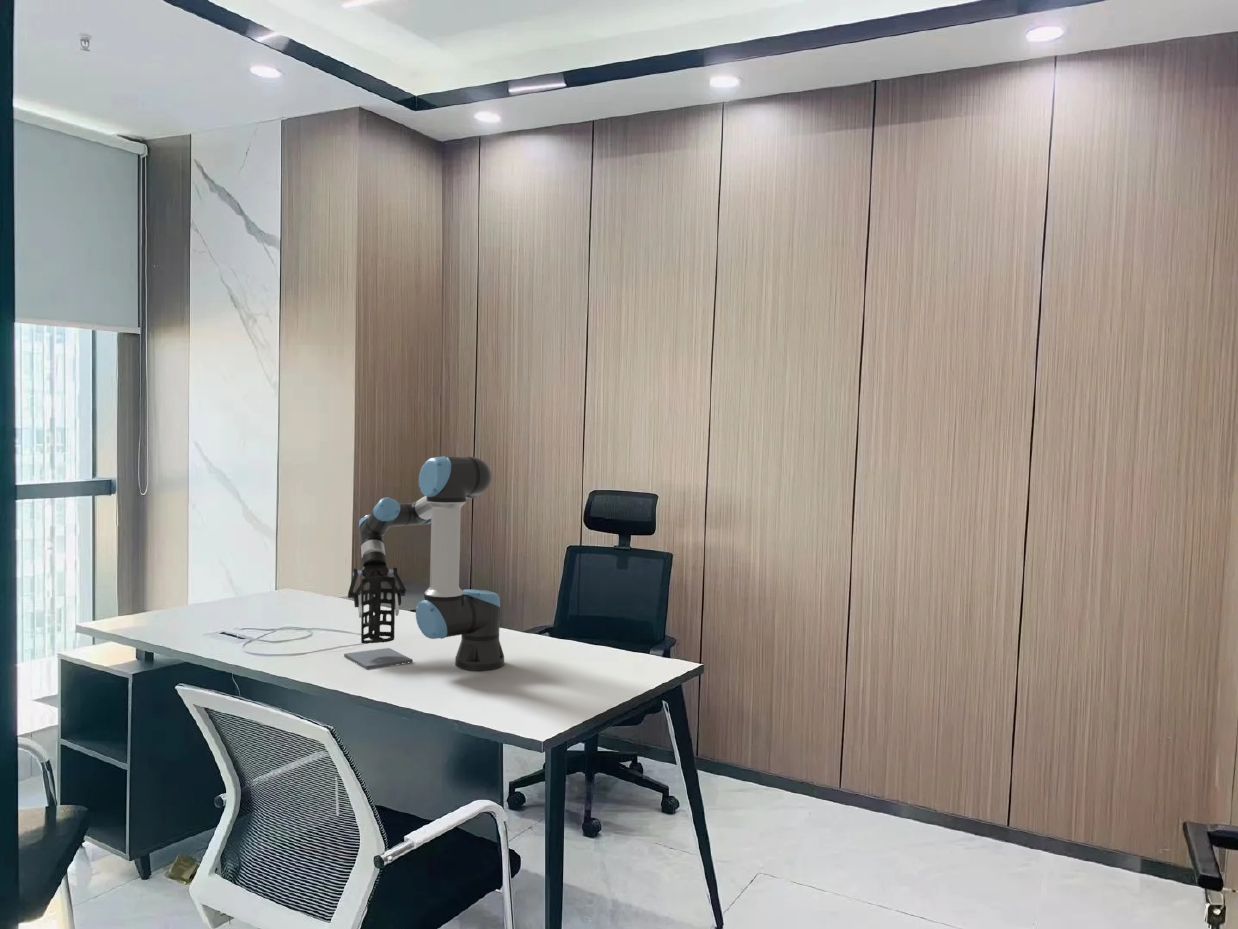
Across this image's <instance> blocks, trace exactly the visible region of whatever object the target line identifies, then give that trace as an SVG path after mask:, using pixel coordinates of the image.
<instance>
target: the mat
mask: <svg viewBox="0 0 1238 929" xmlns="http://www.w3.org/2000/svg"><path fill="white" fill-rule="evenodd" d="M345 657H346V659H347V660H348V661H351V662H352V663H354V662H355V663H354V664H356V663H357V664H356V665H358V666H359V667H361V668H363V669H364V670H371V669H376V668H378V669H379V668H384V667H385V666H386V667H392V666H391V665H393V666H397V665H396V664H400V665H403V664H402V663H407V664H409V663H408V662H414V661H413V659H412V658H410V657H409V656H406V655H405V654H402V653H400V652H398V651H396V650H394V649H392V648H391V647H384V648H378V649H369V650H362V651H355V652H354V651H353V652H348V653H347V652H346V653H343V658H345ZM386 667H385V668H386Z"/></svg>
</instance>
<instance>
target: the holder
mask: <svg viewBox="0 0 1238 929" xmlns="http://www.w3.org/2000/svg"><path fill="white" fill-rule="evenodd" d="M382 581H383V582H391V583H392V588H391V589H388V588H382ZM368 582H369V583H368ZM364 583H368V584H369V587H368V589H365V588H364ZM360 584H361V594H360V595H361V604H362V617H361V624H360V625H361V629H360V632H361V633H360V634H361V635H360V636H361V638H360V643H362V644H365V645H366V644H379V643H389V642H393V641H394V640H395V622H396V620H395V617H396V614H395V586H396V584H395V578H394V577H393V576H388V577H368V578H365V577H364V578H362V579H361V581H360ZM382 593H383V594H382ZM389 593H390V595H391V599H388V594H389ZM382 595H383V598H382ZM382 604H388V605H390V610H388V609H381V607H382V606H381V605H382ZM367 605H368V611H365V610H364V607H365V606H367ZM381 615H382V620H381ZM387 615H389V616H390V620H387ZM381 626H390V631H381ZM367 627H368V632H366V633H365V632H364V630H365V628H367ZM385 637H387V638H385ZM367 639H369V640H367Z"/></svg>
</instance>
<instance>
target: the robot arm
mask: <svg viewBox="0 0 1238 929" xmlns="http://www.w3.org/2000/svg"><path fill="white" fill-rule="evenodd" d="M492 478H493V477H492V471H491V468H490V467H489V465H488V464H487V463H486V461H484V460H482V459H481V458H479V457H476V456H475V457H474V456H435V457H430V458H428V459H427V460H426V461H425V462H424V464H423V465H422V466H421V468H420V472H419V475H418V488H419V489H420V493H421V494H422V495H423V496H422V497H420V499H417V500H416V501H413V502H404V503H403V502H402V503H399V502H398V501H397V500H396V499H394V498H391V497H383V498H381V499H379V501H378V502H377V504H375V505H374V507H373V510H372V511H371V513H370V514H366V515H365V516H363V517H362V518H360V519H359V523H358V533H359V542H360V550H361V551H360V553H361V554H360V555H361V565H362V569H358V568H354V569H353V571H352V580H351V582H350V586H349V588H348V593H347V598H348V599H353V603H354V605H353V606H354V608H358V619H359V618H361V617H362V604H361V583H360V584H359V586H358V587H357V589H356V590H355V587H356V585H357V581H358V578H360V577H361V575H362V576H363V577H364V578H368V577H389V576H388V574H389V575H390V577H394V578H395V617H396V616H399V613H400V606H401V605H402V597H404V596H406V592H407V589H406V587H405V585H404V583H403V582H402V579H401V577H400V576H399V573H398V568H397V567H393V568H392V569H391V568H388V566H387V559H386V558H387V557H386V549H385V548H386V547H385V541H384V540H385V539H384V536H385V534H386V533H387V532H388V530H389V529H390V528H392V527H404V526H405V527H406V526H425V525H430V524H431V525H430V532H431V533H430V559H429V560H430V562H429V563H430V564H429V565H430V566H429V567H430V568H429V587H428V588H427V589H426V590H425V591H424V595H423V596H424V598H423V599H422V600H421V601H419V602H418V603H417V606H416V608H415V620H416V624H417V626H418V629H419V630H420V632H421V633H422V635H423V636H425V637H426V638H427V639H430V640H437V639H441V640H442V639H445V638H451V637H456V636H461V640H460V643H459V647H458V649H457V652H456V655H455V658H454V659H455V660H454V661H455V662H454V665H455V667H456V668H459V669H463V670H468V671H488V670H489V671H490V670H495V669H499V668H501V667H503V666H504V665H505V655H504V651H503V647H502V645H501V641H500V617H501V616H500V615H501V602H500V601H501V600H500V599H501V598H500V595H499V594H498V593H496V592H495V591H489V590H483V589H473V588H472V589H469V588H468V589H467V588H466V589H463V590H462V588H460V558H461V556H460V554H461V552H460V551H461V548H460V547H461V515H462V510H461V509H462V507H463V506H464V505H465V504H466V503H467V500H468V499H475V498H477V497H479V496H480V495H482V494H484V493H485V492H486V491H488V489H489V488H490V485H491V484H492V480H493V479H492ZM369 584H370V583H369V582H368V583H364V589H365V588H366V587H367V586H368V585H369ZM381 584H383V585H385V586H386V587H387V589H391V588H392V583H391V582H383V581H382V582H381ZM354 590H355V591H354Z"/></svg>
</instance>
